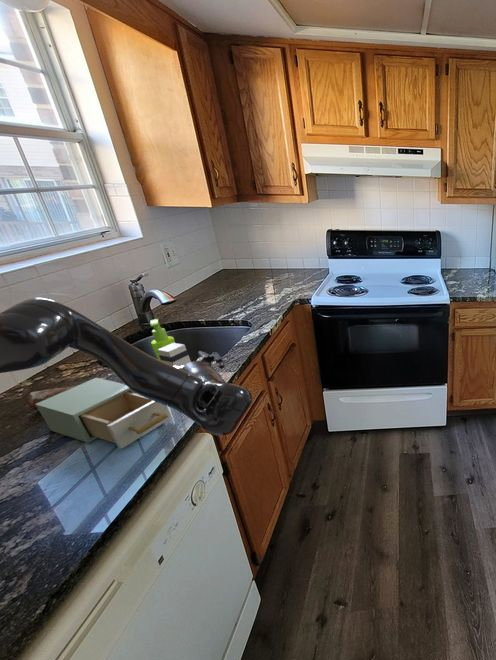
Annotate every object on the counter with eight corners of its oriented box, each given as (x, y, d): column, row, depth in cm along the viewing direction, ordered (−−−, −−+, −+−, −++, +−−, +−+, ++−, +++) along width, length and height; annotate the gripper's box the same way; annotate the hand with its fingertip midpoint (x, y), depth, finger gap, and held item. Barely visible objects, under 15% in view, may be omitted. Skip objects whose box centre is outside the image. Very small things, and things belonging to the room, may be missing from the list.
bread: (41, 404, 108) (31, 389, 106) (122, 387, 116) (114, 372, 113) (31, 416, 103) (21, 400, 100) (116, 397, 111) (108, 381, 108)
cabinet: (144, 411, 103) (132, 386, 100) (88, 443, 92) (72, 415, 88) (109, 402, 108) (96, 377, 105) (51, 430, 97) (34, 404, 93)
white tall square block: (189, 403, 107) (168, 352, 99) (177, 400, 108) (156, 349, 101) (204, 394, 111) (185, 344, 103) (192, 391, 112) (173, 342, 105)
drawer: (182, 421, 97) (173, 400, 95) (133, 452, 87) (121, 430, 84) (135, 408, 103) (126, 388, 100) (84, 436, 93) (71, 415, 90)
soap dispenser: (165, 383, 117) (141, 326, 109) (165, 374, 122) (142, 319, 114) (187, 377, 120) (165, 321, 112) (186, 368, 125) (165, 315, 117)
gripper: (229, 356, 89) (207, 338, 99) (159, 380, 79) (143, 357, 89) (237, 382, 92) (215, 362, 102) (171, 408, 82) (154, 383, 92)
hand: (181, 360), depth 96 cm, fingers open, 8 cm apart
